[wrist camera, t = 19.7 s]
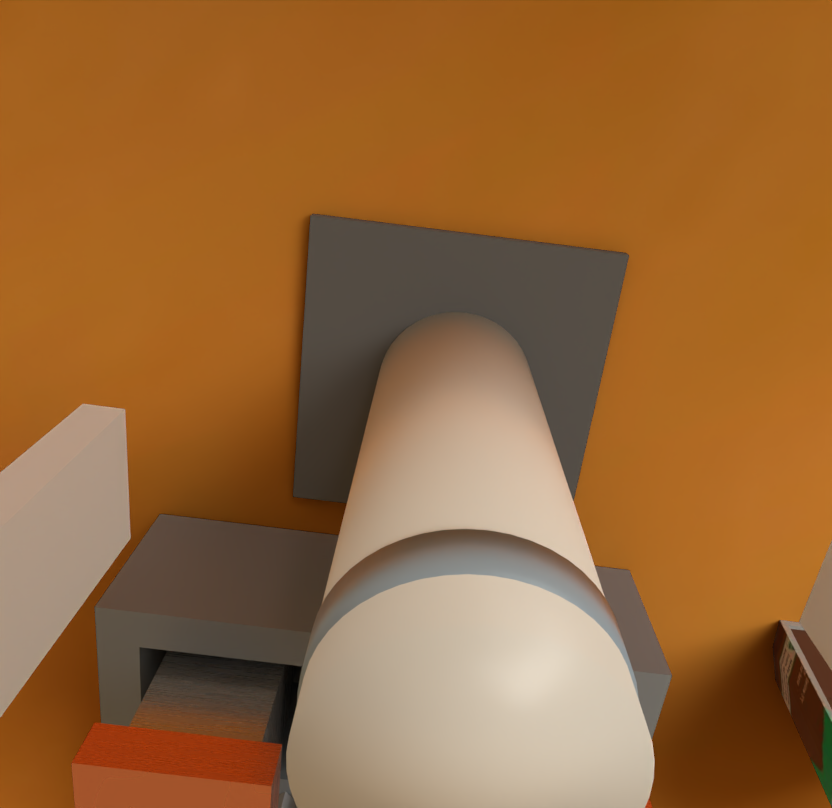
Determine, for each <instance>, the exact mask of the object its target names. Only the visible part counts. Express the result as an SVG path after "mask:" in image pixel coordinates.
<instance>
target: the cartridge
mask: <svg viewBox="0 0 832 808" xmlns="http://www.w3.org/2000/svg"><path fill="white" fill-rule="evenodd" d="M654 765H655V759H654V751H653V743H652V740H651V736H650V733H649V730H648V727H647V724H646V721H645V717H644V714H643V711H642V708H641V705H640V702H639V697H638V690H637V682H636V679H635V676H634V672H633V669H632V666H631V663H630V660H629V657H628V654H627V651H626V648H625V645H624V642H623V639H622V636H621V633H620V630H619V627H618V624H617V621H616V618H615V616H614V614H613V612H612V610H611V608H610V606H609V604H608V602H607V600H606V598H605V596H604V593H603V590H602V587H601V584H600V581H599V578H598V575H597V572H596V569H595V566H594V563H593V560H592V557H591V554H590V551H589V547H588V544H587V541H586V538H585V535H584V532H583V529H582V526H581V523H580V520H579V517H578V514H577V511H576V508H575V505H574V502H573V499H572V496H571V493H570V490H569V487H568V484H567V481H566V478H565V475H564V472H563V469H562V466H561V463H560V459H559V456H558V453H557V450H556V447H555V444H554V441H553V438H552V435H551V432H550V429H549V426H548V423H547V420H546V417H545V414H544V411H543V408H542V405H541V402H540V399H539V396H538V393H537V390H536V387H535V384H534V381H533V377H532V374H531V371H530V368H529V365H528V362H527V359H526V357H525V355H524V353H523V351H522V349H521V347H520V346H519V344H518V343H517V341H516V340H515V339H514V338H513V337H512V336H511V334H510V333H508V332H507V331H506V330H505V329H504V328H503V327H501V326H500V325H498V324H497V323H495V322H493V321H491V320H489V319H487V318H485V317H482V316H479V315H476V314H470V313H465V312H446V313H440V314H435V315H432V316H429V317H426V318H423V319H421V320H419V321H417V322H415V323H414V324H412V325H411V326H409V327H408V328H406V329H405V330H404V331H403V332H402V333H401V334H400V335H399V336H398V337H397V338H396V339H395V340H394V341H393V343H392V344H391V346H390V347H389V349H388V350H387V352H386V354H385V357H384V359H383V362H382V365H381V368H380V372H379V376H378V380H377V384H376V388H375V392H374V396H373V400H372V404H371V408H370V412H369V416H368V420H367V424H366V428H365V432H364V436H363V441H362V445H361V449H360V453H359V457H358V461H357V465H356V469H355V473H354V477H353V481H352V485H351V489H350V493H349V497H348V501H347V505H346V509H345V513H344V517H343V521H342V525H341V529H340V533H339V537H338V541H337V545H336V549H335V553H334V557H333V561H332V565H331V569H330V573H329V577H328V581H327V585H326V589H325V593H324V597H323V601H322V605H321V607H320V609H319V611H318V613H317V616H316V619H315V622H314V625H313V628H312V632H311V635H310V639H309V643H308V647H307V651H306V655H305V659H304V663H303V667H302V671H301V675H300V679H299V686H298V692H297V706H296V710H295V714H294V718H293V722H292V726H291V730H290V734H289V739H288V746H287V752H286V768H287V776H288V781H289V787H290V790H291V793H292V796H293V798H294V801H295V804H296V806H297V808H645V806H646V804H647V801H648V799H649V797H650V793H651V788H652V784H653V780H654Z"/></svg>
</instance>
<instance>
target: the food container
mask: <svg viewBox="0 0 832 808" xmlns="http://www.w3.org/2000/svg"><path fill="white" fill-rule="evenodd" d="M773 657H774V668H775V680H776V682H777V685H778V687H779V689H780V691H781V694H782V696H783V698H784V700H785V703H786V705H787V707H788V709H789V712H790V714H791V716H792V719H793V721H794V723H795V725H796V728H797V730H798V732H799V734H800V737H801V739H802V741H803V743H804V746H805V748H806V750H807V752H808V755H809V757H810V759H811V761H812V764H813V766H814V768H815V770H816V773H817V775H818V777H819V780H820V782H821V784H822V786H823V789H824V791H825V793H826V795H827V798H828V800H829V802H830V804H831V807H832V670H831V669H830V667H829V666H828V664H827V663H826V661H825V660H824V658H823V657H822V655H821V654H820V652H819V651H818V649H817V648H816V646H815V645H814V643H813V642H812V640H811V639H810V637H809V636H808V634H807V633H806V631H805V630H804V628H803V626H802V625H801V623H799V622H791V621H783V620H780V621H779V625H778V628H777V632H776V636H775V640H774V643H773Z"/></svg>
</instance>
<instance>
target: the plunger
mask: <svg viewBox="0 0 832 808" xmlns="http://www.w3.org/2000/svg"><path fill="white" fill-rule="evenodd" d="M294 666H295V665H286V664H278V663H270V662H261V661H253V660H244V659H236V658H227V657H219V656H210V655H202V654H193V653H185V652H176V651H167V653H166V655H165V657H164V659H163V661H162V662H161V664H160V666H159V668H158V670H157V672H156V674H155V676H154V678H153V680H152V682H151V684H150V686H149V688H148V690H147V692H146V694H145V696H144V698H143V700H142V702H141V704H140V705H139V707H138V709H137V711H136V713H135V715H134V717H133V719H132V721H131V723H130V725H129V726H121V725H113V724H104V723H94V724H93V726H92V728H91V730H90V731H89V733H88V735H87V737H86V738H85V740H84V742H83V744H82V745H81V747H80V749H79V751H78V752H77V754H76V756H75V758H74V759H73V761H72V763H71V764H72V777H73V789H74V802H75V808H278V801H279V786H280V770H281V755H282V744H281V741H282V737H283V733H284V729H285V725H286V721H287V718H288V714H289V710H290V706H291V702H292V694H293V680H294Z"/></svg>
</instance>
